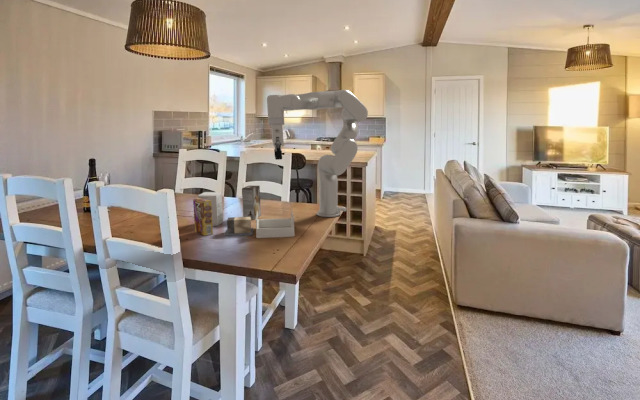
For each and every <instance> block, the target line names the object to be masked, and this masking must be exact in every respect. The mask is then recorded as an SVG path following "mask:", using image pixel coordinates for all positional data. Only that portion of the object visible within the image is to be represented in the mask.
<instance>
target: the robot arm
mask: <svg viewBox="0 0 640 400" xmlns="http://www.w3.org/2000/svg"><path fill="white" fill-rule="evenodd" d="M266 104H267V105H266V106H267V120H268V121H267V125H268V126H270V127H271V139H272V146H273V147H274V148H273V150H274V152H273V153H274V158H275V160H283V151H282V147H284V146H285V144H284V143H285V142H284V129H283V127H284V126H285V113H284V111H288V112H291V111H301V110H307V111H311V110H312V111H315V110H326V109H327V110H328V109H329V110H330V109H339V108H343V109H342V110H341V119H342V123H343V124H342V125H343V126H342V128H341V131H340V132H339V133H338V135H336V138H335V139H334V140H333V142H332V144H331V146H330V151H331V154H324V155H322V156H320V158H319V159H318V162H317V169H318V177H319V182H318V183H319V210H318V211H317V212H316V215H317V216H318V217H321V218H322V217H323V218H333V217H334V218H336V217H338V216H340V215H341V212H347V207H345V206H344V207H343V206H339V205H338V202H339V201H338V193H339V191H338V186H339V184H338V183H339V181H338V176H340V175H342V174H344V173H345V172H346V170H347V169H348V167H349V166H350V165H351V163H352V161H353V160H354V159H355V157H356V156H357V153H358V150H359V149H358V144H357V142H356V141H355V139H356V138H357V137H358V136H357V135H358V133H359V125H358V123H362V122H364V121H365V120H366V119H367V118H368V116H369V113H368V112H369V111H368V108H367V106H365V105H364V103H363V102H361V100H360V99H358V97H357V96H355V94H354V93H352V92H351V91H350V90H348V89H340V90H339V89H338V90H321V91H310V92H307V93H299V94H294V93H290V94H289V93H288V94H282V95H281V94H269V95H268V96H267V97H266Z"/></svg>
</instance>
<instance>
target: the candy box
mask: <svg viewBox="0 0 640 400" xmlns="http://www.w3.org/2000/svg"><path fill="white" fill-rule="evenodd" d="M192 202H193V219H194V233H196V234H199V235H203V236H204V237H205V236H211V235H213V234H214V231H213V230H214V229H213V227H214V226H212V204H211V200H207V199H202V198H198V197H197V198H193V199H192Z"/></svg>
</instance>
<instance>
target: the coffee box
mask: <svg viewBox="0 0 640 400" xmlns="http://www.w3.org/2000/svg"><path fill="white" fill-rule="evenodd" d="M260 187H261V186H260V185H247V186H245V187H243V188H241V197H242V217H251V220H252V221H253V220H255V221H256V215H257V211H258V218H259V217H260V216H262V213H261V209H262V208H261V188H260Z"/></svg>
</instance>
